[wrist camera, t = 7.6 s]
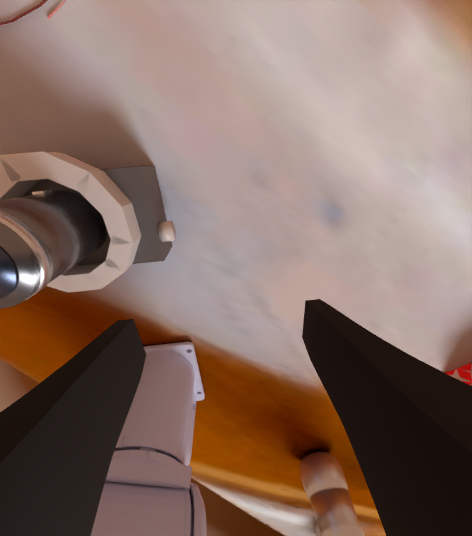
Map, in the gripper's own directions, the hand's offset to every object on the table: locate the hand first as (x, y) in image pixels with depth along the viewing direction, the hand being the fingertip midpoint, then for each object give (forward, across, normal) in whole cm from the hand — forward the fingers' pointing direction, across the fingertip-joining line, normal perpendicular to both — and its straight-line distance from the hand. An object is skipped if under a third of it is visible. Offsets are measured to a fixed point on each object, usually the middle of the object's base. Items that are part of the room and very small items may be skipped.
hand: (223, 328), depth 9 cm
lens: (+7, +9, -4) cm, 12 cm away
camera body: (+10, +9, -4) cm, 14 cm away
